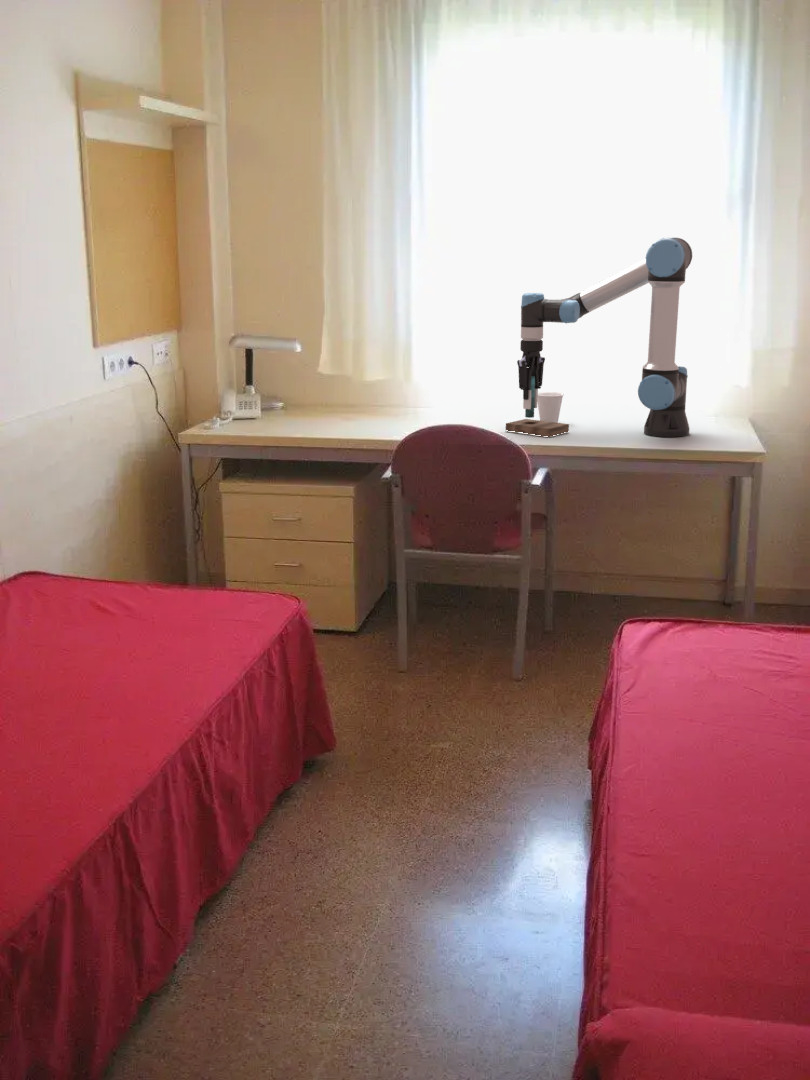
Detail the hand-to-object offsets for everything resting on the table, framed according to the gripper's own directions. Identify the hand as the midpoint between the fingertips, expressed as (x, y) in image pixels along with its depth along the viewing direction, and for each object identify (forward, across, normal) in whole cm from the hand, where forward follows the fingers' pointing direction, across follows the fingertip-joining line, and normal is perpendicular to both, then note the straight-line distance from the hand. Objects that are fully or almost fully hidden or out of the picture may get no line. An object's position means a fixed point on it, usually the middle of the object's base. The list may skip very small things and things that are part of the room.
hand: (530, 408), depth 397 cm
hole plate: (+8, 0, +3) cm, 9 cm away
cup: (+8, -16, -3) cm, 18 cm away
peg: (+3, 0, 0) cm, 3 cm away
